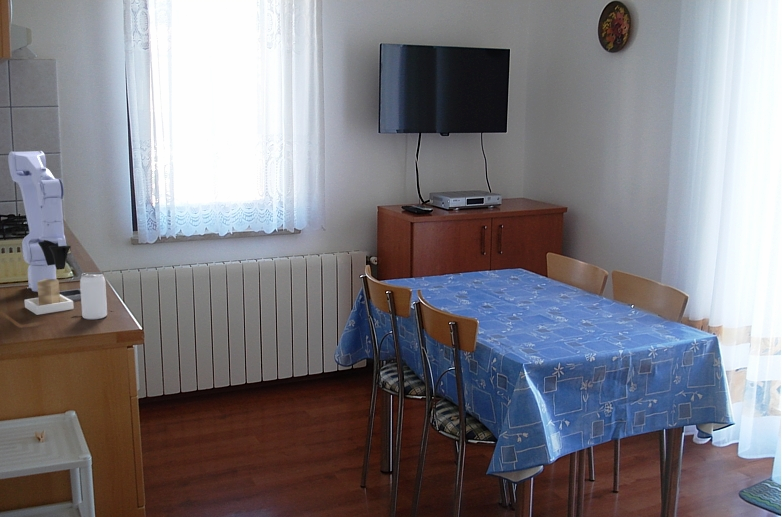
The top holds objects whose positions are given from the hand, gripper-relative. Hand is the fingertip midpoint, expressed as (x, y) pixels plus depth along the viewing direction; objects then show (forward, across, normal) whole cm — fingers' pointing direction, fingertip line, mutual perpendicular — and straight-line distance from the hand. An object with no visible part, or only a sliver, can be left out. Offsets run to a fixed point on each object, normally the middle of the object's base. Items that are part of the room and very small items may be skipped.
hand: (55, 267), depth 233 cm
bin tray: (+10, +9, -6) cm, 15 cm away
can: (+11, +23, +2) cm, 25 cm away
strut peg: (+10, +8, -5) cm, 14 cm away
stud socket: (+10, +1, +4) cm, 11 cm away
